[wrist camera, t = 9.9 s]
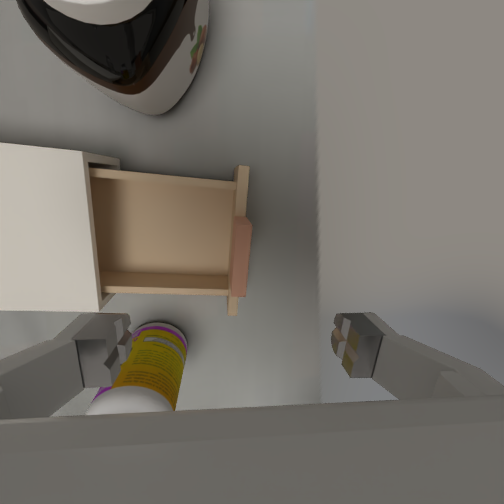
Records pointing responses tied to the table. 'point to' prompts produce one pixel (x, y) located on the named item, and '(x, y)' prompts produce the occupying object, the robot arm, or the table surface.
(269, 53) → the table surface
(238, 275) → the tray
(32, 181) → the sleeve
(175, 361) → the supplement bottle
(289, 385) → the table surface
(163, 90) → the spread jar
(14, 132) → the table surface
